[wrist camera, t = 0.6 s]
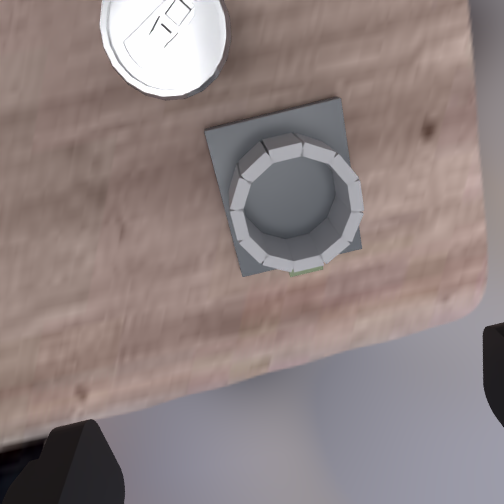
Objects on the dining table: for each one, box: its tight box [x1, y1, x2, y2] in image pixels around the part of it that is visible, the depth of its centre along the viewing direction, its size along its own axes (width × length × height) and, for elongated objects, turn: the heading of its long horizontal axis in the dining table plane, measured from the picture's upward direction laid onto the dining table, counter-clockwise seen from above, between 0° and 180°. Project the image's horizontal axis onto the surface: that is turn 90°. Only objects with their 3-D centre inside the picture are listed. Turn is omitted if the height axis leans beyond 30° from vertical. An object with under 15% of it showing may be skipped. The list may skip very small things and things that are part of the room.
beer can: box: [100, 0, 231, 100], centre depth 23 cm, size 5×5×12 cm
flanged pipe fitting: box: [204, 97, 364, 277], centre depth 31 cm, size 11×9×5 cm
